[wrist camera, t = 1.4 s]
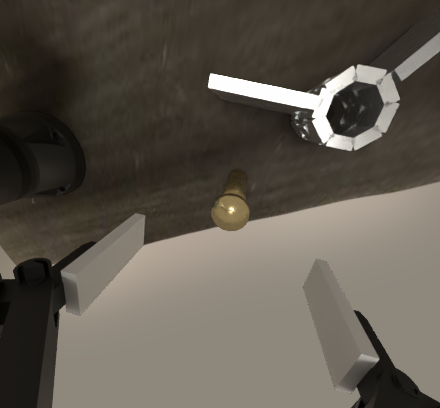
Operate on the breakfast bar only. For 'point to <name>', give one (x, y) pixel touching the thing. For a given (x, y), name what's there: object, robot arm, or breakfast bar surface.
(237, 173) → the brass pin
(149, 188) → the breakfast bar surface
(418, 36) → the hinge swing leaf
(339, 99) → the hinge fixed leaf
